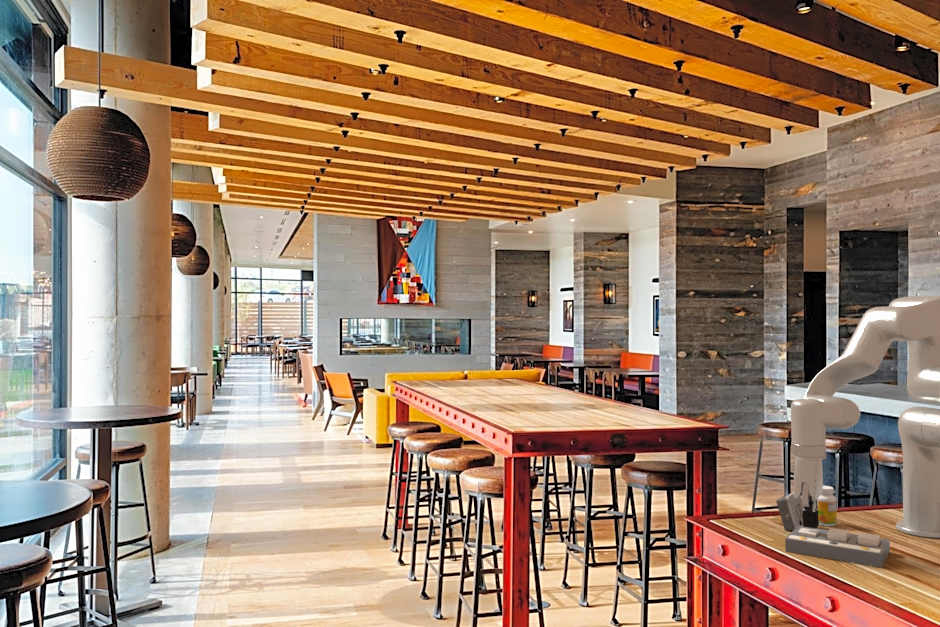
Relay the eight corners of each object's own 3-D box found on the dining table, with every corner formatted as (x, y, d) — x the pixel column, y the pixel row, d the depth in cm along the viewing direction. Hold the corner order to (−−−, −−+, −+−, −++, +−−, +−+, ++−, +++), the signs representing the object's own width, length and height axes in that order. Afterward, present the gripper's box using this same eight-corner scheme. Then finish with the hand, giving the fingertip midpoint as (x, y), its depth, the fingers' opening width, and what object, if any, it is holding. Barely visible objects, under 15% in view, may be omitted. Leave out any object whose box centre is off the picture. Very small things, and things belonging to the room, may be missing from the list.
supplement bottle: (809, 522, 201) (809, 485, 201) (826, 520, 203) (825, 484, 203) (824, 527, 196) (824, 490, 196) (841, 525, 198) (841, 488, 198)
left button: (801, 538, 184) (801, 527, 184) (819, 540, 181) (819, 530, 181) (797, 542, 180) (797, 531, 180) (815, 545, 178) (815, 534, 178)
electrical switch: (799, 534, 190) (795, 497, 191) (778, 532, 194) (774, 496, 194) (809, 526, 198) (805, 490, 198) (789, 524, 201) (785, 489, 201)
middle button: (830, 538, 180) (830, 528, 180) (849, 541, 177) (849, 530, 177) (827, 542, 177) (827, 532, 177) (845, 545, 174) (845, 535, 174)
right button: (860, 543, 176) (860, 532, 176) (880, 546, 174) (880, 535, 174) (857, 547, 173) (857, 536, 173) (877, 550, 170) (877, 539, 170)
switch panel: (798, 537, 187) (798, 524, 187) (889, 552, 176) (889, 538, 176) (785, 551, 177) (785, 537, 177) (881, 567, 165) (881, 552, 165)
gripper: (799, 444, 189) (801, 517, 189) (784, 455, 177) (786, 532, 177) (831, 446, 185) (833, 521, 185) (819, 458, 173) (821, 537, 173)
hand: (810, 526), depth 181 cm, fingers closed
